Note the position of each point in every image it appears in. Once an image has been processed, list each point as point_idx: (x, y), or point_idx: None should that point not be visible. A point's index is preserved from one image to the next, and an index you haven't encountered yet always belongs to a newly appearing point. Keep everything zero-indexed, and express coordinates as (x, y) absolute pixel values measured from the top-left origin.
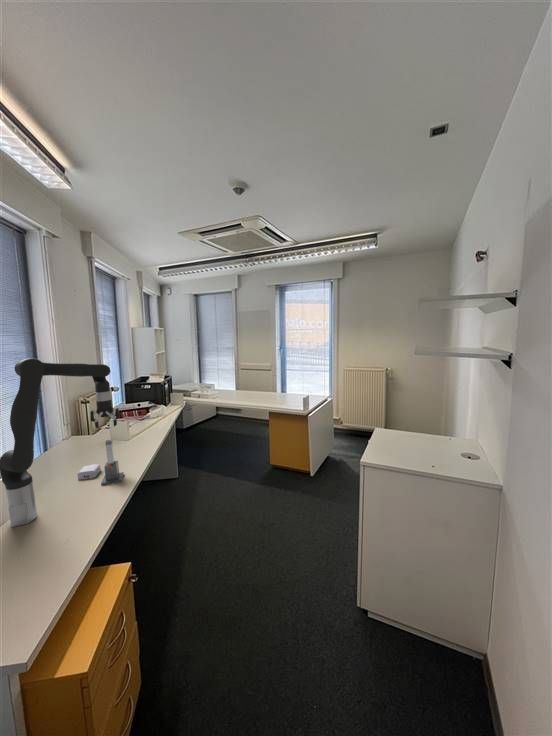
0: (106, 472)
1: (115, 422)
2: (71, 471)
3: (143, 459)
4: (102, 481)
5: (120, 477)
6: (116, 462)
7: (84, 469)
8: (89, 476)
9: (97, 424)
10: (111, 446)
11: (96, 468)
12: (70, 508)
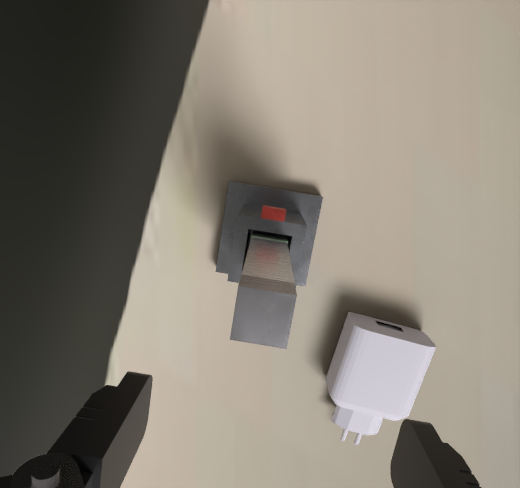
0: (296, 218)
1: (88, 422)
2: None
3: None
4: (316, 213)
5: (231, 210)
6: (236, 252)
7: (404, 371)
8: (375, 321)
9: (441, 475)
10: (247, 269)
11: (346, 356)
12: (453, 21)
